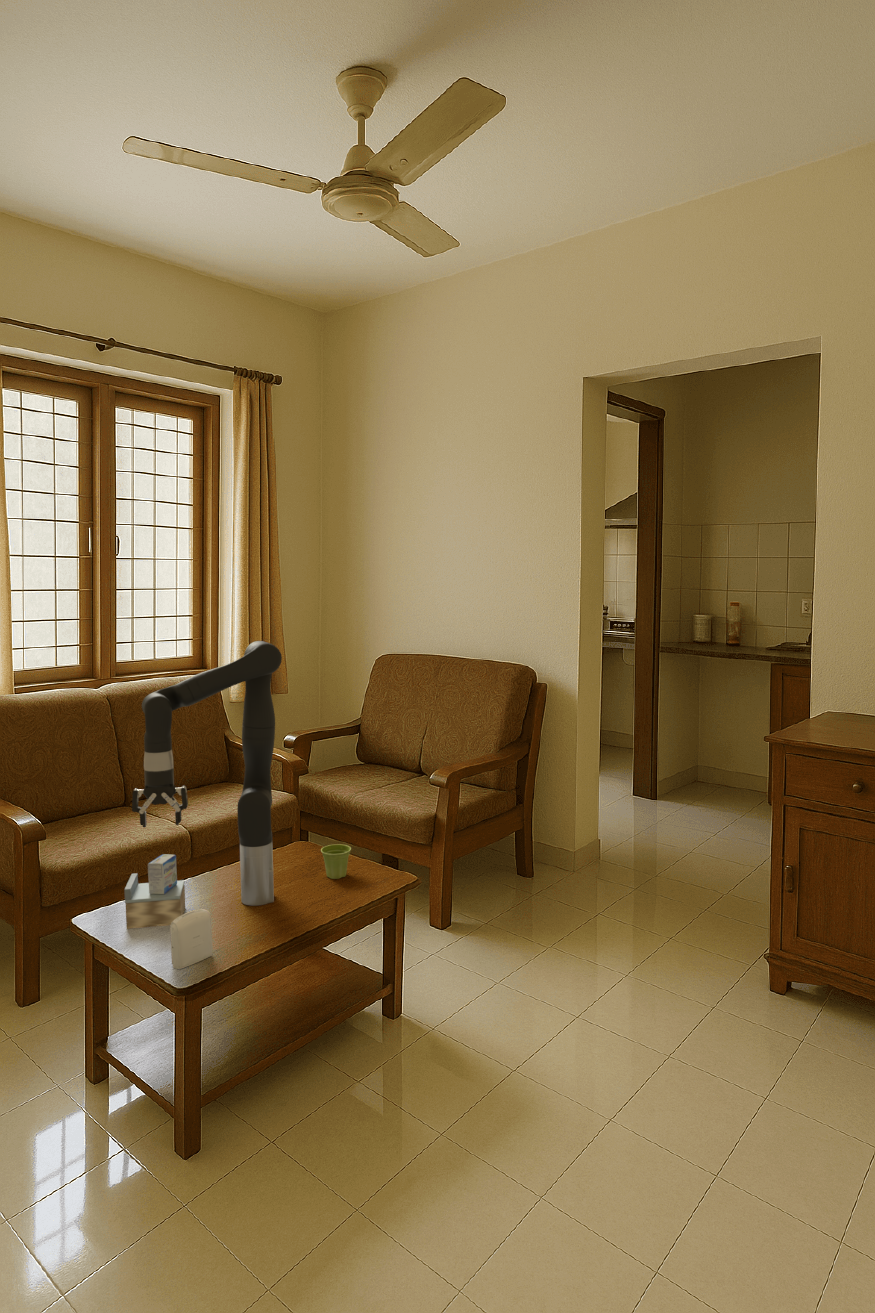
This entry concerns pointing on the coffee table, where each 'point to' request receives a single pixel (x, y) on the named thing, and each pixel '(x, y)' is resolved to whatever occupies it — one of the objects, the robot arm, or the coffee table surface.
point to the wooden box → (154, 912)
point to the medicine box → (162, 874)
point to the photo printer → (191, 938)
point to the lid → (141, 891)
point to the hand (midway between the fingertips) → (161, 825)
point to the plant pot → (336, 860)
